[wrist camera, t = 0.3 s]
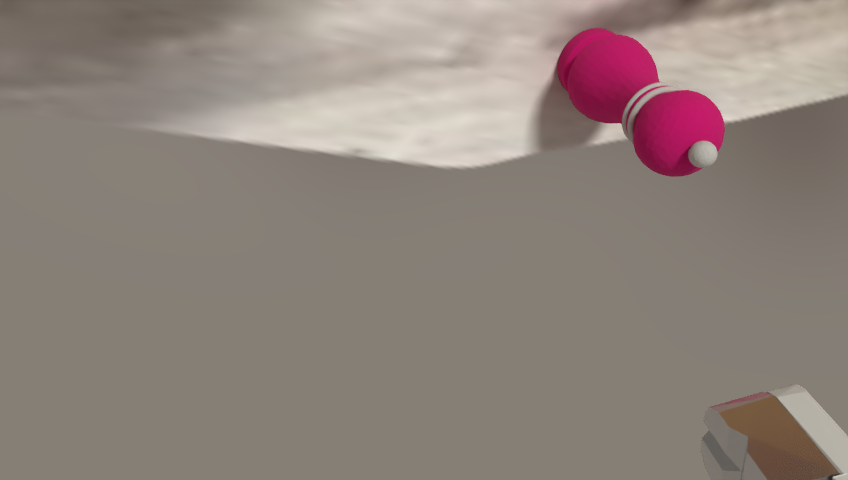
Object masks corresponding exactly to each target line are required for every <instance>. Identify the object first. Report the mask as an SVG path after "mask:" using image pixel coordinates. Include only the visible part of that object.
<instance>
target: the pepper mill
mask: <svg viewBox="0 0 848 480" xmlns="http://www.w3.org/2000/svg"><path fill="white" fill-rule="evenodd" d="M558 76H559V80H560V82H561V84H562V86H563V87H564V88H565V89H566V90H567V91H568V93H569V97H570V99H571V101H572V103H573V105H574V106H575V107H576V108H577V110H579V111H580V112H581V113H582V114H584V115H585V116H587V117H588V118H590V119H593V120H595V121H599V122H603V123H621V124H622V128H623V131H624V134H625V135H626V137H627V138H628V139H629V140H630V141H631V142H632V143H633V144H634V148H635V152H636V154H637V156H638V157H639V158H640V160H641V161H642V162H643V164H645V165H646V166H647V167H648V168H650V169H651V170H653V171H654V172H657V173H659V174H662V175H666V176H684V175H689V174H692V173H694V172H696V171H699V170H700V169H702V168H704V167H708V166H710V165H711V164H713V163H714V161H715V160H716V158H717V153H718V151H719V149H720V147H721V145H722V142H723V137H724V132H725V130H724V129H725V128H724V121H723V118H722V115H721V113H720V111H719V109H718V108H717V106H716V105H715V104H714V103H713V102H712V101H711V100H710V99H709V98H707V97H706V96H704V95H702V94H700V93H698V92H693V91H689V90H681V89H680V88H679V87H677V86H676V85H674V84H672V83H667V82H659V79H658V74H657V69H656V65H655V63H654V61H653V59H652V57H651V55H650V54H649V52H648V51H647V50H646V49H645V48H644V47H643V46H642V45H641V44H640V43H639V42H638V41H636V40H635V39H633V38H630V37H628V36H623V35H616V34H614V33H613V32H611V31H609V30H606V29H601V28H595V29H589V30H586V31H583V32H581V33H579V34H578V35H576V36H575V37H574V38H573V39H571V40H570V41H569V42H568V44H567V45H566V46H565V48H564V50H563V51H562V53H561V56H560V59H559V63H558Z"/></svg>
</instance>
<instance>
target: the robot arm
mask: <svg viewBox="0 0 848 480" xmlns="http://www.w3.org/2000/svg"><path fill="white" fill-rule="evenodd" d="M704 423H705V424H706V426H707V427H708V429H709V431H708V432H707V433H706V434H705V435H704V437H703V438H702V444H701V453H702V457H703V461H704V465H705V468H706V470H707V472H708V474H709V476H710V478H711V480H848V436H847V435H846V434H845V432H844V431H842V429H841V428H840V427H839V426H838V425H837V424H836V423H835V422H834V420H832V418H831V417H830V416H829V415H828V414H827V413H826V412H825V411H824V410H823V409H822V407H821V406H820V405H819V404H818V403H817V402H816V401H815V400H814V399H813V398H812V397H811V395H810V394H809V393H808V392H807V391H806V390H805V389H804V388H802V387H800V386H799V385H789V386H785V387H781V388H778V389H774V390H771V391H767V392H760V393H757V394H753V395H750V396H747V397H743V398H740V399H736V400H733V401H729V402H726V403H722V404H719V405H715V406H712V407H709V408H708V409H707V410H706V411H705V416H704Z"/></svg>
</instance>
